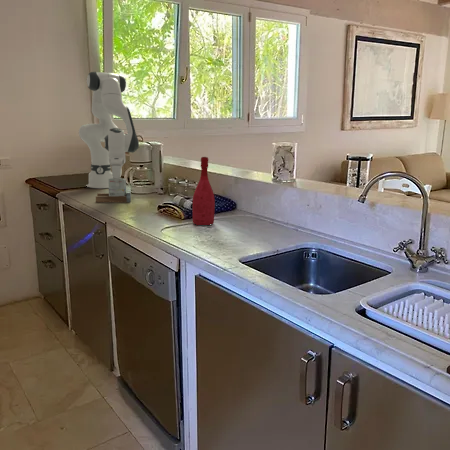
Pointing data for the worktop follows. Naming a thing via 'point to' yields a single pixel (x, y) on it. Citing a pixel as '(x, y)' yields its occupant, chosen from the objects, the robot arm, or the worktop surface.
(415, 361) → the worktop surface
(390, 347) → the worktop surface
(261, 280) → the worktop surface
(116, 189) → the ink box
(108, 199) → the guide channel
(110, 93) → the robot arm
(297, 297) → the worktop surface
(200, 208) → the wine bottle
